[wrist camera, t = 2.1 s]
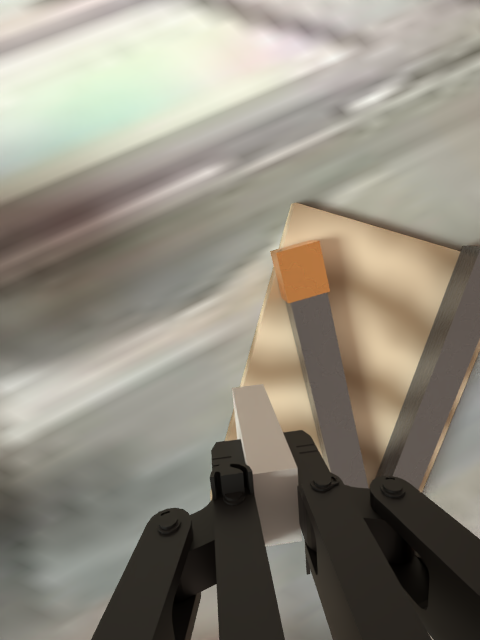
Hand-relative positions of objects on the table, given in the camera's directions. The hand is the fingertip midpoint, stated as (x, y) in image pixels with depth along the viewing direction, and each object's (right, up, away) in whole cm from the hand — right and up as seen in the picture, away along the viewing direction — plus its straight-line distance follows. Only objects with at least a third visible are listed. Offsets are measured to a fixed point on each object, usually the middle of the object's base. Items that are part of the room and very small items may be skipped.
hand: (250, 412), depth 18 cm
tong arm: (+7, -2, +16) cm, 17 cm away
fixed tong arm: (+17, -2, +17) cm, 24 cm away
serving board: (+10, -1, +17) cm, 20 cm away
